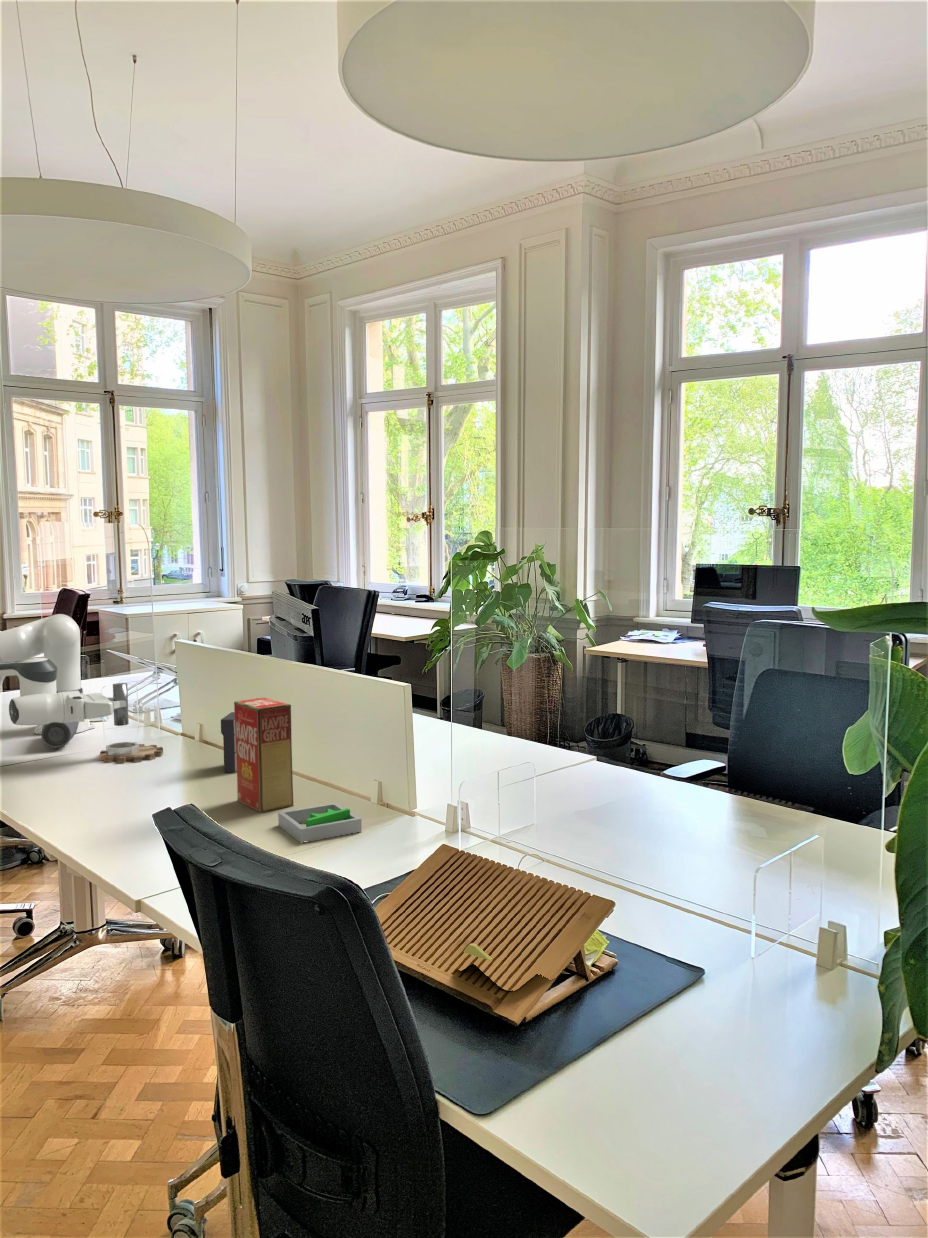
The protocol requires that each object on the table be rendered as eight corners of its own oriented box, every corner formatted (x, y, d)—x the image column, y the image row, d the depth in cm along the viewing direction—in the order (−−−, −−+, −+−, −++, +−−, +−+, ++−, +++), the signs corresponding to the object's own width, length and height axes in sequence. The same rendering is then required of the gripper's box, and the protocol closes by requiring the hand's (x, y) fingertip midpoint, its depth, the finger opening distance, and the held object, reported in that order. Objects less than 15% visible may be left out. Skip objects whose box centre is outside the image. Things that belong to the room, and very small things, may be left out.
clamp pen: (278, 825, 202) (278, 812, 201) (336, 815, 209) (336, 802, 209) (301, 843, 190) (301, 829, 189) (361, 832, 197) (361, 818, 197)
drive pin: (113, 724, 264) (111, 683, 263) (127, 722, 266) (125, 682, 265) (115, 726, 261) (114, 685, 260) (129, 724, 263) (128, 684, 262)
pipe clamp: (339, 825, 202) (339, 805, 202) (350, 829, 200) (350, 809, 199) (298, 837, 194) (298, 816, 194) (309, 841, 192) (309, 820, 191)
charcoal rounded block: (237, 773, 246) (236, 719, 245) (221, 773, 247) (220, 719, 245) (247, 763, 257) (246, 711, 256) (232, 763, 257) (231, 711, 256)
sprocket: (94, 753, 269) (94, 742, 269) (155, 746, 278) (155, 735, 278) (105, 766, 254) (104, 754, 254) (169, 758, 263) (169, 746, 263)
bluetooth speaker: (50, 737, 291) (49, 706, 291) (81, 735, 294) (80, 705, 293) (39, 753, 270) (38, 720, 269) (73, 751, 273) (71, 718, 272)
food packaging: (234, 800, 220) (232, 700, 218) (269, 793, 227) (267, 696, 224) (260, 813, 210) (257, 708, 208) (295, 805, 216) (293, 703, 214)
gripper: (68, 711, 266) (117, 706, 273) (78, 723, 248) (131, 718, 255) (67, 690, 265) (116, 686, 272) (78, 700, 248) (130, 696, 255)
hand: (123, 701), depth 264 cm, fingers closed on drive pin, 4 cm apart
